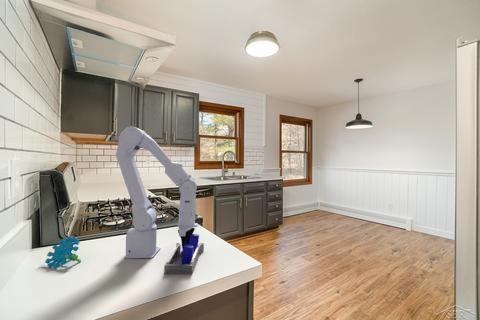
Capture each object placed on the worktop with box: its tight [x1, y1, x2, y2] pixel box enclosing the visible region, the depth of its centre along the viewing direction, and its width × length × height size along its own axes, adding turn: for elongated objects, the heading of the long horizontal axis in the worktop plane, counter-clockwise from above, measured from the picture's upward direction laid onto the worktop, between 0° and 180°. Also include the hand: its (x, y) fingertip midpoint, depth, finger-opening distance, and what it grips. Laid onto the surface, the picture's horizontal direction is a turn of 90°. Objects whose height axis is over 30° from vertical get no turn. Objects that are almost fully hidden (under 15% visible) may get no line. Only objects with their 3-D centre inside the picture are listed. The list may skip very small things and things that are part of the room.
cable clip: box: [180, 233, 200, 264], centre depth 76 cm, size 12×4×6 cm, turn 1°
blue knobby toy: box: [44, 235, 82, 269], centre depth 72 cm, size 11×6×10 cm
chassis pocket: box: [163, 242, 205, 275], centre depth 74 cm, size 10×17×3 cm, turn 1°
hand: (185, 248), depth 82 cm, fingers closed, pressing on cable clip
